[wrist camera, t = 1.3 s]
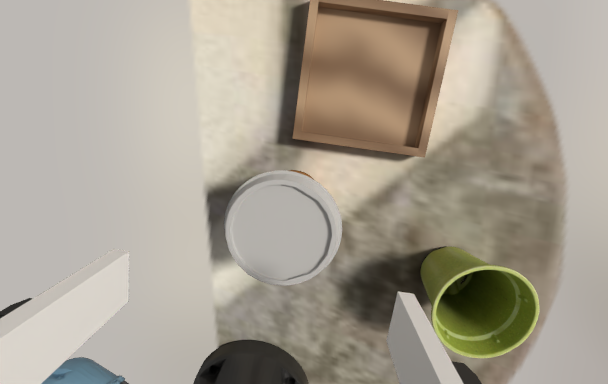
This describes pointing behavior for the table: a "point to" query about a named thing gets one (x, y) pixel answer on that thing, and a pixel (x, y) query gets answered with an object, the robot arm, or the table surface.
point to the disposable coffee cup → (282, 227)
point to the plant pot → (478, 303)
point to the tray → (372, 74)
